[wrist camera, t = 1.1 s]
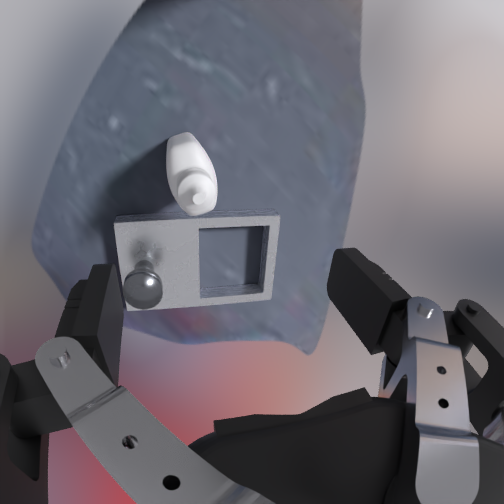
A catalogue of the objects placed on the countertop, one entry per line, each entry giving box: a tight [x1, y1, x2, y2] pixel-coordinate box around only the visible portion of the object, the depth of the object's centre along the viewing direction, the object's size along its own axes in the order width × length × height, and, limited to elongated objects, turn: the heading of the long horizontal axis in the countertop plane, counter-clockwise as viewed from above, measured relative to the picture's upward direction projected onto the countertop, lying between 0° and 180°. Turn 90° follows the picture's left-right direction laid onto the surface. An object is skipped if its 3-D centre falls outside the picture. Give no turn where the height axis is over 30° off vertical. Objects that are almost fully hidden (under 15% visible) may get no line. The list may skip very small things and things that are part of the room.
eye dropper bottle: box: [166, 132, 217, 216], centre depth 23 cm, size 4×6×12 cm
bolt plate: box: [114, 209, 280, 311], centre depth 30 cm, size 10×16×6 cm, turn 85°
